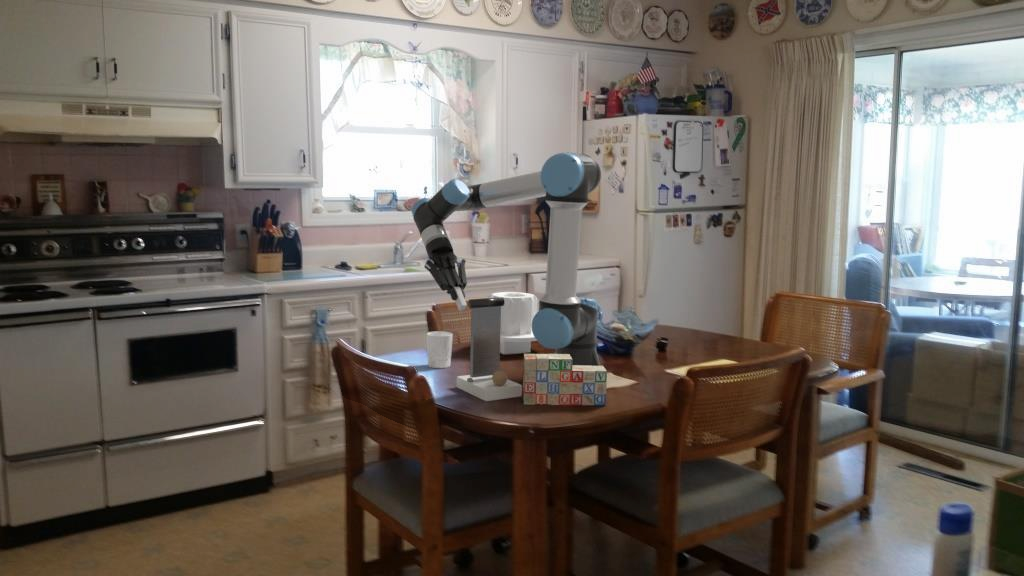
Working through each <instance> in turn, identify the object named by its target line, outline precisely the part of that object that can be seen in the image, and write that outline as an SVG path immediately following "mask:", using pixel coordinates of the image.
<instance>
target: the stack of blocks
mask: <svg viewBox="0 0 1024 576" xmlns="http://www.w3.org/2000/svg"><path fill="white" fill-rule="evenodd" d="M572 361H573V359H572V358H571V356H570V354H555V353H523V365H522V401H524V402H523V405H535V404H540V405H541V406H542V405H543V404H549V405H548V406H603V405H605V406H606V405H607V404H606V402H607V401H606V400H607V378H608V376H607V375H608V371H607V369H606V368H605V367H604V365H601V366H584V365H581V366H580V365H572ZM550 404H551V405H550Z"/></svg>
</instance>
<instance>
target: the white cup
mask: <svg viewBox="0 0 1024 576" xmlns="http://www.w3.org/2000/svg"><path fill="white" fill-rule="evenodd" d="M426 350H427V351H426V352H427V367H429V368H433V369H446V368H447V369H448V368H450V367H451V363H452V361H451V359H452V351H453V333H452V332H450V331H443V330H441V331H438V330H437V331H436V330H435V331H428V332H427V333H426Z"/></svg>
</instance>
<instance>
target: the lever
mask: <svg viewBox="0 0 1024 576" xmlns="http://www.w3.org/2000/svg"><path fill="white" fill-rule="evenodd" d="M504 303H505V301H504V298H502V297H501V298H488V297H487V298H472V299H469V300H468V302H467V306H468V308H469V309H470V310H471V311H470V317H471V318H470V352H469V354H470V355H469V359H470V360H469V363H470V364H469V375H470V377H472V378H474V377H482V376H490V375H493V374H494V373H495V372H496V371H499V370H500V366H501V365H500V361H501V359H500V358H501V353H500V328H501V306H504Z"/></svg>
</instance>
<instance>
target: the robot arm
mask: <svg viewBox="0 0 1024 576" xmlns="http://www.w3.org/2000/svg"><path fill="white" fill-rule="evenodd" d="M601 177H602V171H601V167H600V165H599V163H598V162H597V160H596V159H595V158H594V157H592V156H590V155H588V154H585V153H576V152H569V151H568V152H567V151H566V152H559V153H558V152H557V153H555V154H554V155H551V156H550V157H549V158H548V159H547V160H545V162H544V164H543V165H542V167H541V171H535V172H531V173H526V174H525V173H524V174H521V175H516V176H512V177H511V176H510V177H507V178H502V179H497V180H493V181H488V182H483V183H478V184H473V185H466V183H465V182H463V181H462V180H460V179H458V178H451V180H449V181H448V182H447V183H445V184H444V185H443V186H442V187H441V188H440V190H438V191H437V193H436V194H434V195H433V196H432V197H431V198H429V197H428V198H427V197H424V198H421V199H420V200H416V201H415V202H414V203H413V204H412V207H411V214H412V217H413V218H412V219H413V221H414V223H415V226H416V227H417V229H418V232H419V235H420V238H421V240H422V243H423V244H424V248H425V251H426V254H427V255H428V258H429V259H428V260H427V261H426V263H424V269H425V270H427V271H428V272H429V273H430V275H431V276H432V277H433V279H434V280H435V283H437V286H438V287H439V288H440V289H441V291H443V292H444V291H446V293H447V294H448V295H449V296H450V298H451V299H452V301H454V302H455V304H456V307H457V310H458V312H464V311H465V309H466V308H467V306H468V303H467V302H466V300H465V298H466V294H465V291H464V290H465V288H466V287H467V285H468V282H467V281H468V279H467V275H466V266H465V265H466V262H467V261H466V259H464V258H463V259H459V258H458V256H457V255H456V254H455V253H454V248H453V245H452V243H451V241H450V239H449V235H448V233H447V231H446V229H445V226H444V223H443V222H445V220H447V219H448V218H449V217H450V216H451V215H452V214H453V213H455V212H464V211H471V212H472V211H473V212H474V211H475V212H476V211H480V210H483V209H486V208H490V207H496V206H500V205H501V206H502V205H506V204H507V205H508V204H511V203H517V202H522V201H526V200H528V201H529V200H531V199H538V198H543V197H545V203H546V204H547V205H548V206H549V208H550V213H549V214H550V215H549V228H548V231H549V232H548V241H547V242H548V244H547V245H548V246H547V261H546V262H547V263H546V276H545V278H546V279H545V292H544V293H543V295H541V296H540V297H539V305H538V310H537V313H536V315H535V316H534V318H533V320H532V332H533V335H534V337H535V339H536V340H537V342H538V343H539V344H540V345H541V346H542V347H544V348H545V349H546V348H547V349H551V350H555V352H554V354H570V356H571V358H572V359H573V361H572V365H580V366H581V365H584V366H602V365H601V361H600V359H599V356H598V352H597V337H598V336H597V333H598V313H599V309H598V302H597V300H596V299H594V298H586V297H578V296H577V282H578V267H579V254H580V238H581V237H580V236H581V235H580V234H581V223H582V210H583V209H584V208H585V207H586V205H588V203H589V194H591V193H592V192H593V191H595V190H596V189H597V188H598V186H599V184H600V182H601Z"/></svg>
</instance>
